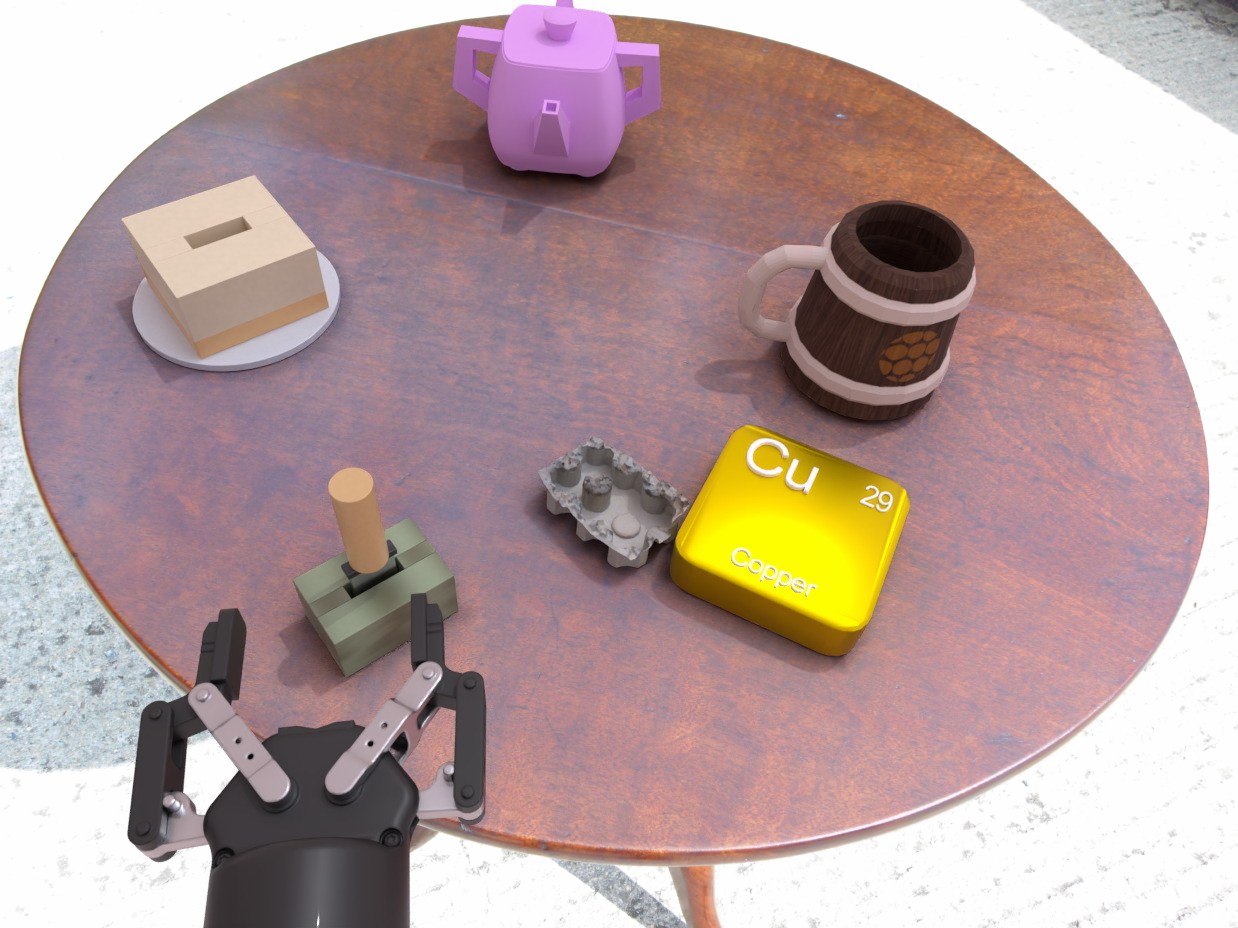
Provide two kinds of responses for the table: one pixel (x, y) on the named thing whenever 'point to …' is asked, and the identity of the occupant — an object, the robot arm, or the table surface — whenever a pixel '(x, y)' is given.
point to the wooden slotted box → (227, 264)
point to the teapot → (556, 87)
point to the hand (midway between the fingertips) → (327, 608)
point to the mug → (870, 308)
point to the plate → (247, 355)
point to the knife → (361, 530)
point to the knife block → (375, 600)
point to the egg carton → (613, 501)
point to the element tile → (791, 539)
